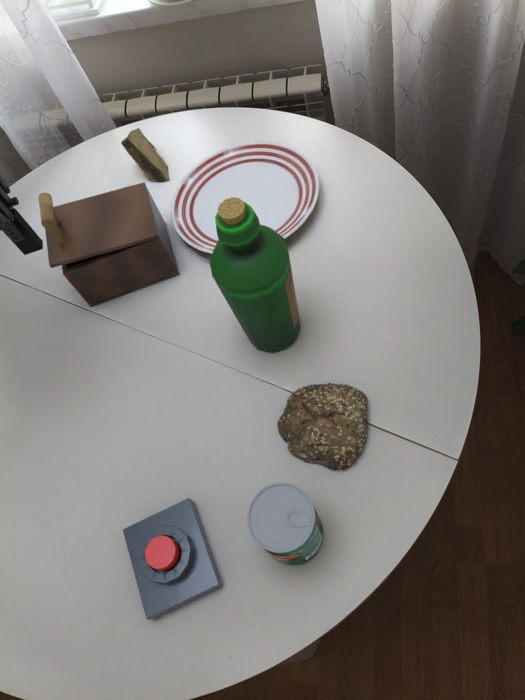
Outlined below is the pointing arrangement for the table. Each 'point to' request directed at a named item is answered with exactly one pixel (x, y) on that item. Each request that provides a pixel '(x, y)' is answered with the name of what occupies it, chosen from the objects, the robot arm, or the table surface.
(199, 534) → the button block
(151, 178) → the rock
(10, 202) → the robot arm
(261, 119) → the table surface
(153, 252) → the chest
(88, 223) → the lid
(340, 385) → the bread roll
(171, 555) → the button
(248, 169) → the dinner plate
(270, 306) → the bottle
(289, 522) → the canned tomato
